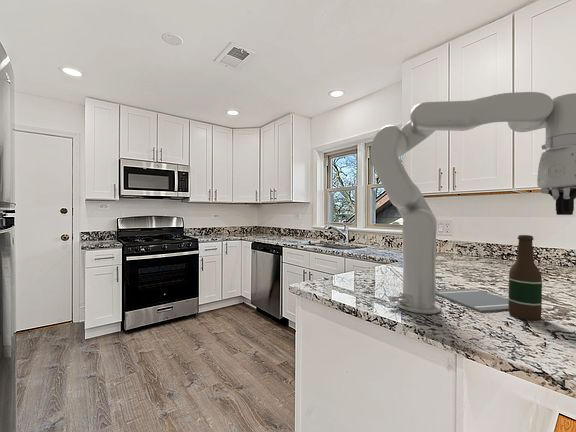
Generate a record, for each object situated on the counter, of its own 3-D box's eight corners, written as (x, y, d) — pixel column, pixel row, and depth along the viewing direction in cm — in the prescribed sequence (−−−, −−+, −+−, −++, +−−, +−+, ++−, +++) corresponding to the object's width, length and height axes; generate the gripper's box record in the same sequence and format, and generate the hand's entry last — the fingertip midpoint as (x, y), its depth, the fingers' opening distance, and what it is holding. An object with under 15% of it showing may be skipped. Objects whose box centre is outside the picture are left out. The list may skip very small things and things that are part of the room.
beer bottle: (548, 322, 78) (550, 236, 78) (516, 320, 80) (518, 236, 80) (530, 312, 86) (532, 234, 86) (502, 310, 87) (503, 234, 87)
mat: (480, 312, 86) (480, 310, 86) (430, 292, 107) (430, 290, 107) (533, 308, 90) (533, 306, 90) (474, 290, 111) (474, 288, 111)
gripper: (523, 150, 80) (523, 214, 80) (590, 135, 65) (589, 214, 65) (544, 151, 81) (544, 214, 81) (614, 137, 66) (613, 214, 67)
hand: (564, 214), depth 73 cm, fingers closed
